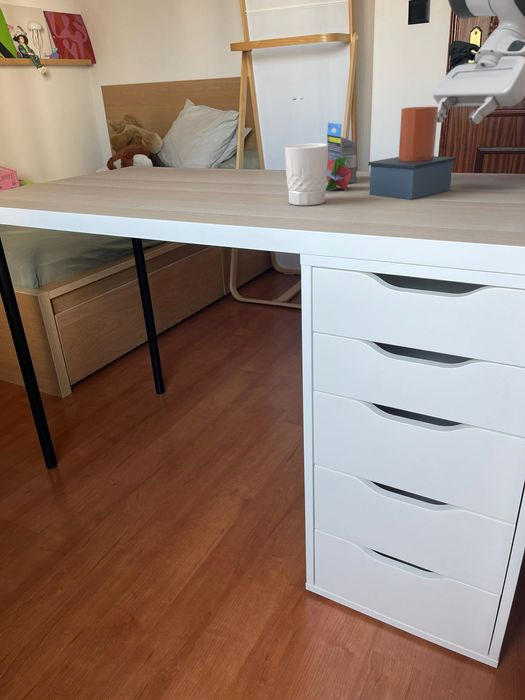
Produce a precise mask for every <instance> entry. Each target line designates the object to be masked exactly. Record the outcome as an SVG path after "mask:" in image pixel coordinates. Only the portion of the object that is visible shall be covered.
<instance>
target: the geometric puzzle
mask: <svg viewBox="0 0 525 700" xmlns="http://www.w3.org/2000/svg"><path fill="white" fill-rule="evenodd" d="M346 158H347V156H346V157H343V158H338V159H335V161H333V160H331V159H329V158H328V163H327V181H326V183H327V184H326V188H325V192H327V191H329V192H330V191H331V192H332V191H334V192H335V191H336V189H338V190H342V191H347V189H348V187H349V184H351V183H350V182H349V180H350V178H351V177H352V176H353V175H351V174H352V172H353V170H351V169H348V167H347V166H346V167H347V168H346V167H344V166H345V165H344V164H345V161H346ZM332 159H333V158H332ZM347 159H348V158H347ZM348 163H349V162H348ZM349 164H350V163H349ZM349 166H350V165H349ZM348 183H349V184H348Z"/></svg>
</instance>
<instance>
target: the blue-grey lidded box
mask: <svg viewBox="0 0 525 700" xmlns="http://www.w3.org/2000/svg"><path fill="white" fill-rule="evenodd" d="M455 161H456V157H452V156H438V155H437V156H435V155H434V159H433V160H428V161H400V160H399V156H396V157H390V158H389V157H388V158H384V159H378V160H373V161H368V162H367V163H368V166H370V168H369V195H373V196H380V195H381V197H388V196H389V197H388V198H395V197H397V199H402V200H403V199H404V200H416V199H421V198H424V197H427V196H432V195H435V194H439V193H444V192H448V191H450V190H451V182H452V173H453V172H452V171H453V164H454V163H453V162H455Z"/></svg>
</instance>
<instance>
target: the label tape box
mask: <svg viewBox="0 0 525 700" xmlns="http://www.w3.org/2000/svg"><path fill="white" fill-rule="evenodd" d="M333 130H335V131H333ZM326 138H327V139H326V140H327V142H326V144H328V158H329V159H331V160H333V161H335V159H338V158H343V157H346V156H347V158H348V159H347V158H346V161H345V164H344V165H345V166H344V167H346V166H347V167H348V169H351V170H353V172H352V174H351V175H353V176H352V177H351V178H350V180H349V182H350V183H348V184H354V183H355V184H356V183H357V182H358V179H357V142H356V141H354V140H352V139H349V138H346V137H343V136H342V123H335V122H329V121H328V122H327V130H326ZM332 158H333V159H332ZM348 162H349V163H350V164H349V163H348ZM349 165H350V166H349ZM347 167H346V168H347Z"/></svg>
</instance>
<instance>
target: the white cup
mask: <svg viewBox="0 0 525 700" xmlns="http://www.w3.org/2000/svg"><path fill="white" fill-rule="evenodd" d="M283 148H284V163H285V173H286V186H287V190H288V203H289V204H290V205H294V206H307V207H308V206H316V205H321V204H324V203H325V202H326V191H325V190H326V188H327V181H328V180H327V163H328V144H327V143H316V142H314V143H298V144H297V143H296V144H289V145H284V147H283Z"/></svg>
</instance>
